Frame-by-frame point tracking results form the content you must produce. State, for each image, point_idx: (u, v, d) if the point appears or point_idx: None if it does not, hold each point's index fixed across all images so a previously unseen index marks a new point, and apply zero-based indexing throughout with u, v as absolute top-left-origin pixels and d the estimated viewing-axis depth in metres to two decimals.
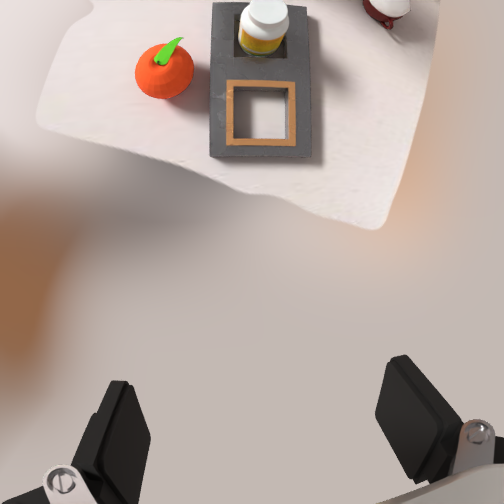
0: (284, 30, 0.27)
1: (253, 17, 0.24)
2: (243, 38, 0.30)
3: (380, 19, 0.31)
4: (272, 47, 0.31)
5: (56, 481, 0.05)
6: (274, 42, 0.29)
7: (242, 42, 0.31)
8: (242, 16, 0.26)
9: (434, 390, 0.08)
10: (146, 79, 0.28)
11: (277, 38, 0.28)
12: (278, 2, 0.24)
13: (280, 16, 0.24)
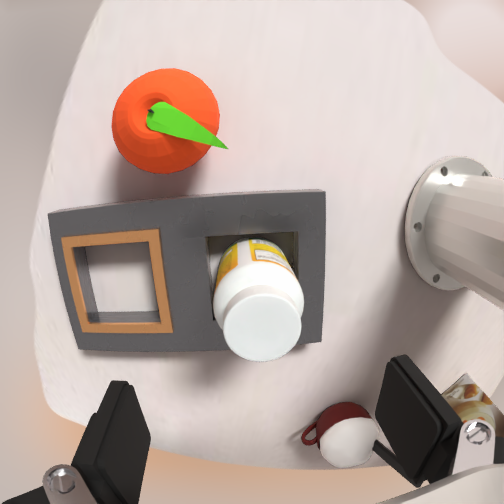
0: None
1: (236, 304, 0.15)
2: (231, 258, 0.20)
3: (317, 426, 0.28)
4: None
5: (56, 481, 0.05)
6: None
7: (232, 251, 0.21)
8: (259, 268, 0.17)
9: (434, 390, 0.08)
10: (126, 95, 0.15)
11: None
12: (281, 345, 0.16)
13: (246, 351, 0.16)
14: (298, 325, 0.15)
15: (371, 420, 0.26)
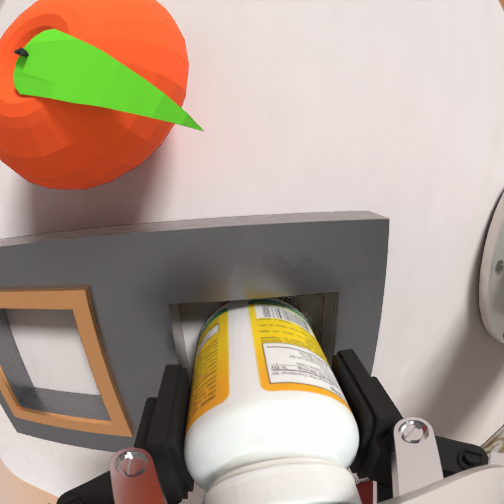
0: None
1: None
2: (217, 356, 0.10)
3: None
4: None
5: (124, 465, 0.06)
6: None
7: (218, 333, 0.11)
8: (279, 412, 0.07)
9: (372, 384, 0.09)
10: (1, 38, 0.05)
11: None
12: None
13: None
14: None
15: None
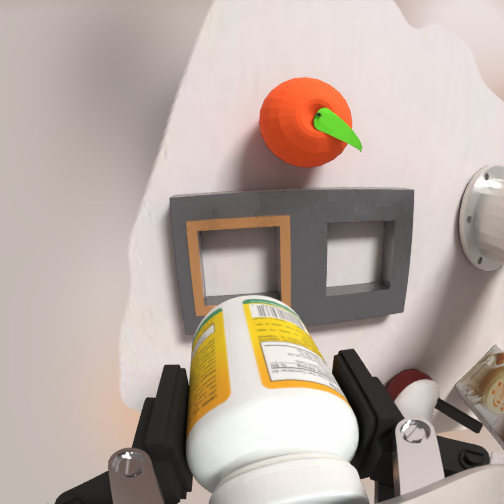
0: None
1: None
2: (215, 356, 0.10)
3: (388, 392, 0.31)
4: None
5: (122, 465, 0.06)
6: None
7: (215, 333, 0.11)
8: (282, 409, 0.07)
9: (374, 384, 0.08)
10: (289, 96, 0.18)
11: None
12: None
13: None
14: None
15: (433, 381, 0.29)
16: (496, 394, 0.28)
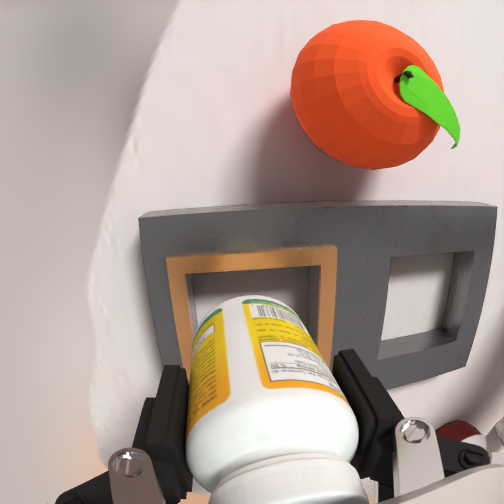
0: None
1: None
2: (214, 356, 0.10)
3: None
4: None
5: (122, 465, 0.06)
6: None
7: (214, 333, 0.11)
8: (282, 409, 0.07)
9: (374, 384, 0.08)
10: (351, 39, 0.09)
11: None
12: None
13: None
14: None
15: (482, 436, 0.19)
16: None
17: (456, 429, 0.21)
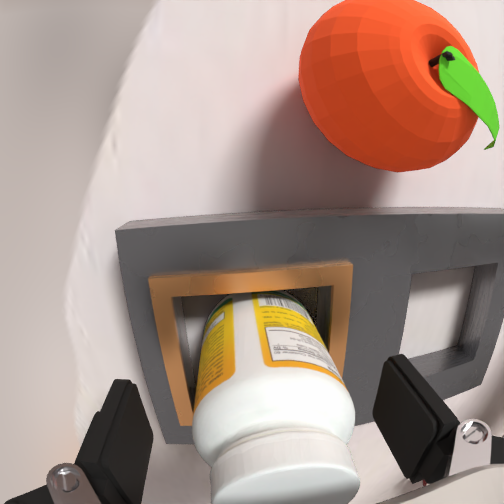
0: None
1: (236, 482, 0.06)
2: (223, 339, 0.11)
3: None
4: None
5: (60, 480, 0.05)
6: None
7: (224, 320, 0.12)
8: (281, 386, 0.08)
9: (431, 389, 0.08)
10: (377, 11, 0.06)
11: None
12: None
13: None
14: (354, 489, 0.06)
15: None
16: None
17: None
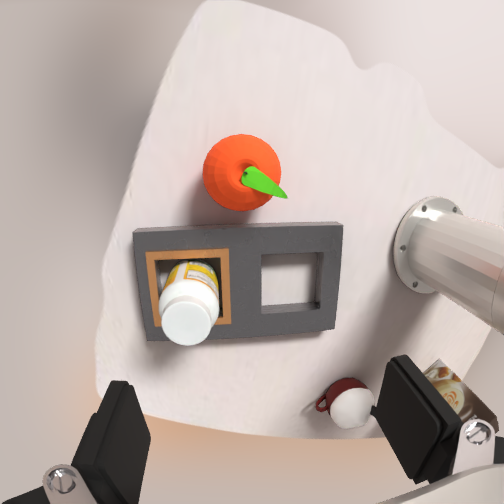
0: None
1: (168, 307, 0.23)
2: (173, 275, 0.28)
3: (327, 396, 0.38)
4: None
5: (56, 481, 0.05)
6: None
7: (175, 269, 0.30)
8: (187, 284, 0.25)
9: (434, 390, 0.08)
10: (223, 155, 0.24)
11: None
12: (199, 335, 0.24)
13: (176, 337, 0.24)
14: (208, 322, 0.24)
15: (368, 390, 0.36)
16: None
17: (345, 382, 0.37)
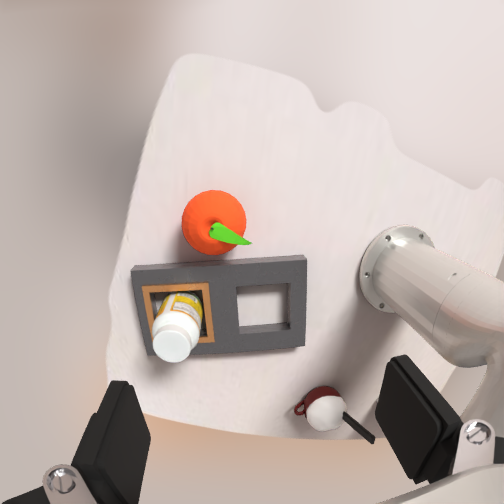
0: None
1: (157, 334, 0.30)
2: (163, 305, 0.35)
3: (304, 402, 0.43)
4: None
5: (56, 481, 0.05)
6: None
7: (166, 300, 0.36)
8: (172, 315, 0.32)
9: (434, 390, 0.08)
10: (194, 214, 0.30)
11: None
12: (182, 355, 0.30)
13: (165, 356, 0.30)
14: (188, 345, 0.30)
15: (340, 398, 0.41)
16: None
17: (320, 390, 0.43)
